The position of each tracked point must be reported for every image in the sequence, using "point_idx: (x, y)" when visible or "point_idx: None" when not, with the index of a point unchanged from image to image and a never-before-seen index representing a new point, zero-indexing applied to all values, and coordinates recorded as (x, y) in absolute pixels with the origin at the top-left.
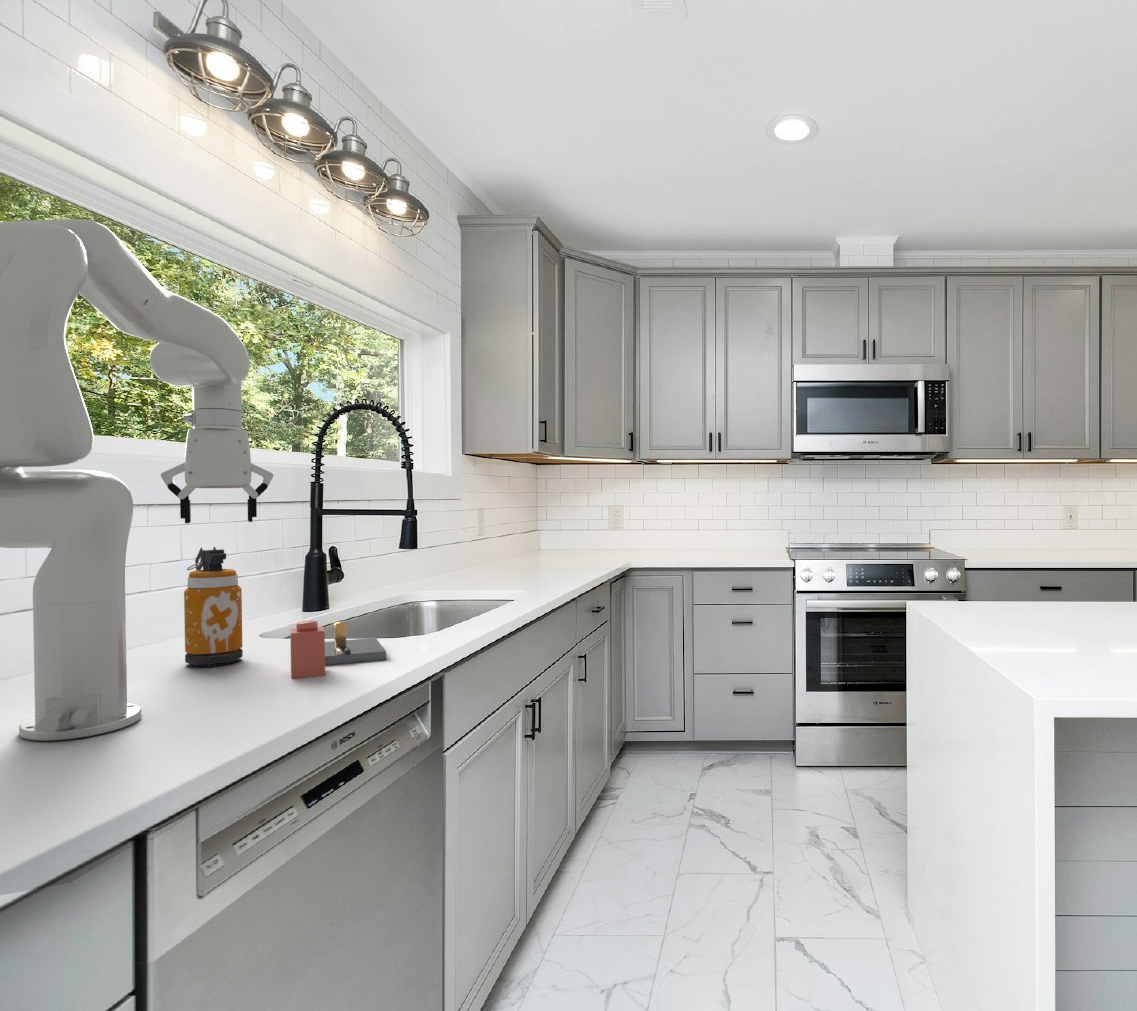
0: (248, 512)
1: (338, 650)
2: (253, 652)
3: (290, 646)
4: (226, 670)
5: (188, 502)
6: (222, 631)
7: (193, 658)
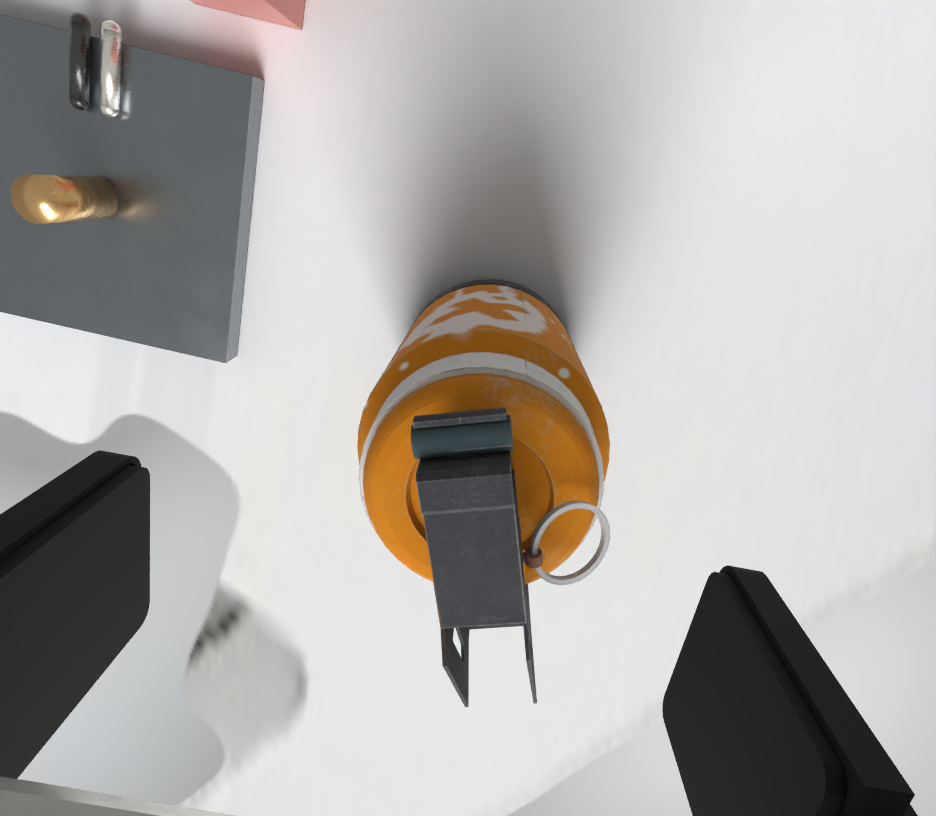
0: (82, 510)
1: (109, 44)
2: None
3: (271, 5)
4: (477, 210)
5: (826, 747)
6: (471, 298)
7: (559, 318)
